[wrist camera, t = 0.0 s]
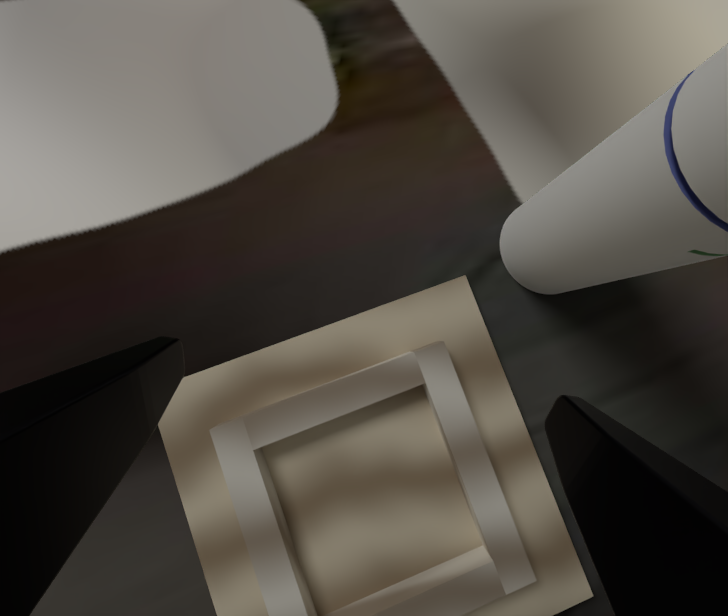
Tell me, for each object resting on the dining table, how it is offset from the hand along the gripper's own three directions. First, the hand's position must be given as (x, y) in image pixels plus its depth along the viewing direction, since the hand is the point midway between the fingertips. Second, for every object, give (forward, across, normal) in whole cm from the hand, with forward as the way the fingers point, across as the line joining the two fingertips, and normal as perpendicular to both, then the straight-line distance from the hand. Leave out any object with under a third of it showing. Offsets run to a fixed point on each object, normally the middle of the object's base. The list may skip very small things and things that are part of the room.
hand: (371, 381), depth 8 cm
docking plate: (+8, -2, +15) cm, 17 cm away
